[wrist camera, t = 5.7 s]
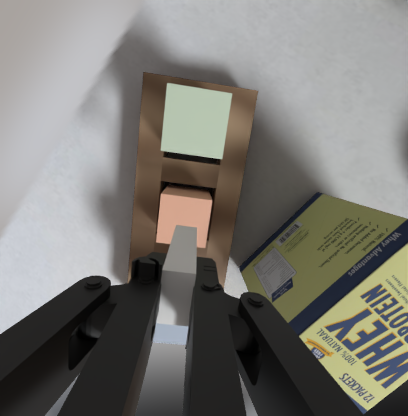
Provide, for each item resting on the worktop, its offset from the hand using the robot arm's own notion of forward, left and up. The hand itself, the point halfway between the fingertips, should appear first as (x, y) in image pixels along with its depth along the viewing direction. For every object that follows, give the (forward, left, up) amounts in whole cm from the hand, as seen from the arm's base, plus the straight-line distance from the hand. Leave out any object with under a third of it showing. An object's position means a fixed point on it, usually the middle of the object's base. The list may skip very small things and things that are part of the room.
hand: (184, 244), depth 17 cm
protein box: (+5, +17, -15) cm, 23 cm away
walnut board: (0, 0, -15) cm, 15 cm away
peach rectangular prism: (0, 0, -14) cm, 14 cm away
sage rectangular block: (-9, 0, -11) cm, 14 cm away
